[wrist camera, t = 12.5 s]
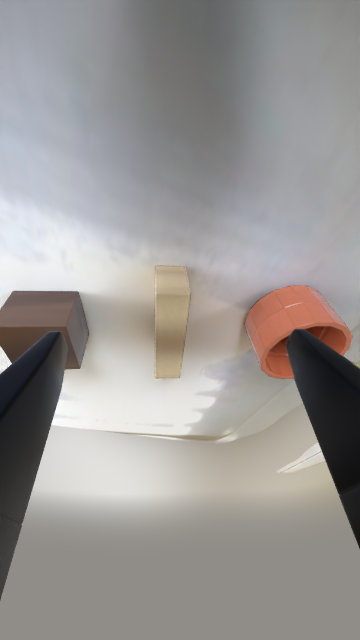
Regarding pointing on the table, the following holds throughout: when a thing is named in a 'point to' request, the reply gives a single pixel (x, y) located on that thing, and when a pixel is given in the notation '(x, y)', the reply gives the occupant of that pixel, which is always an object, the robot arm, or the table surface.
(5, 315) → the walnut block
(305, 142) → the table surface
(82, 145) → the table surface
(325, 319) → the plant pot
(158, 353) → the birch bar
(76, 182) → the table surface
